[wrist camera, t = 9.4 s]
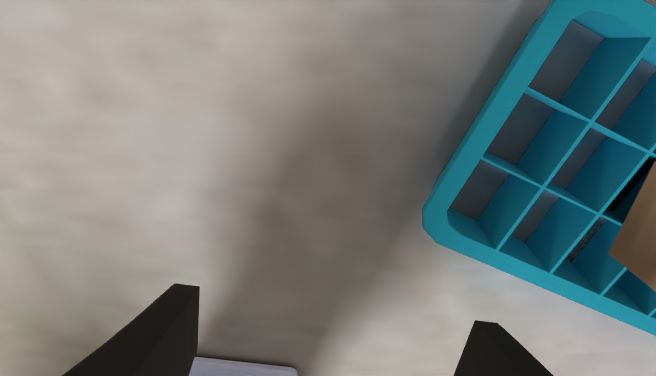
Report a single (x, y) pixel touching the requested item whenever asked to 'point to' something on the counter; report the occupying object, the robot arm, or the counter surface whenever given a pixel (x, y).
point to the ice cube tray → (549, 155)
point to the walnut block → (640, 234)
